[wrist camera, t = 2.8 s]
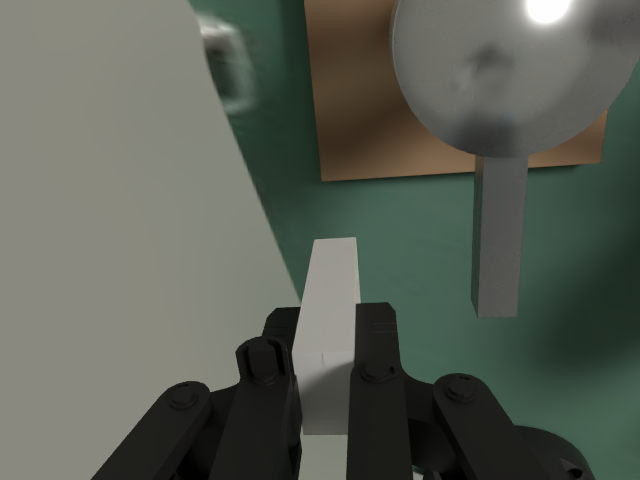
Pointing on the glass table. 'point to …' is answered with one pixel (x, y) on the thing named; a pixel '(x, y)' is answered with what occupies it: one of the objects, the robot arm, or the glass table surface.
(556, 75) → the disc with handle bar
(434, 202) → the glass table surface
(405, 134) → the square wooden board
